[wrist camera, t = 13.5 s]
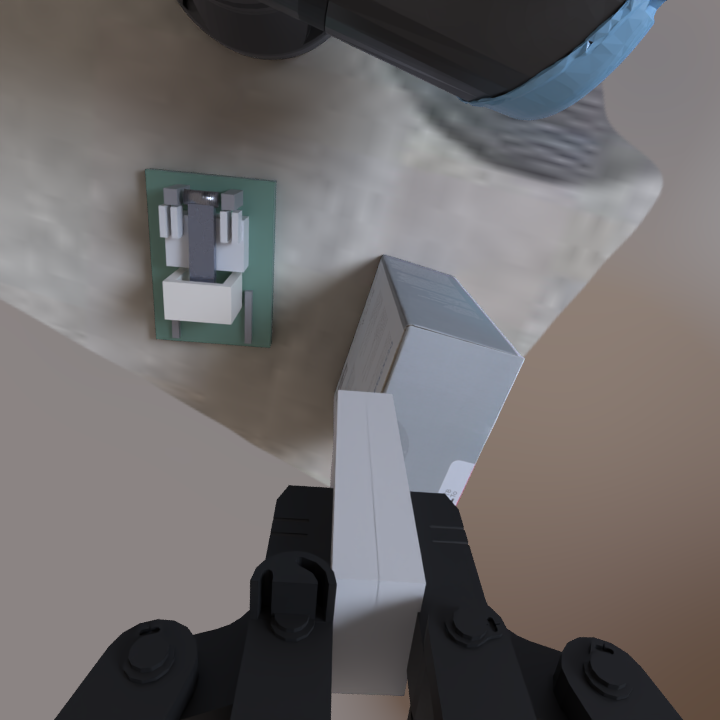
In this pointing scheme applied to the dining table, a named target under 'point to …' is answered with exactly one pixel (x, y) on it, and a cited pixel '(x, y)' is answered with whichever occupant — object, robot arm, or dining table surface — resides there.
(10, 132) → the dining table surface
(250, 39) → the robot arm
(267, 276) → the board
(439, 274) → the hard drive box
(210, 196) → the grey rectangular bar
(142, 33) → the dining table surface
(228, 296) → the white open-sided box
